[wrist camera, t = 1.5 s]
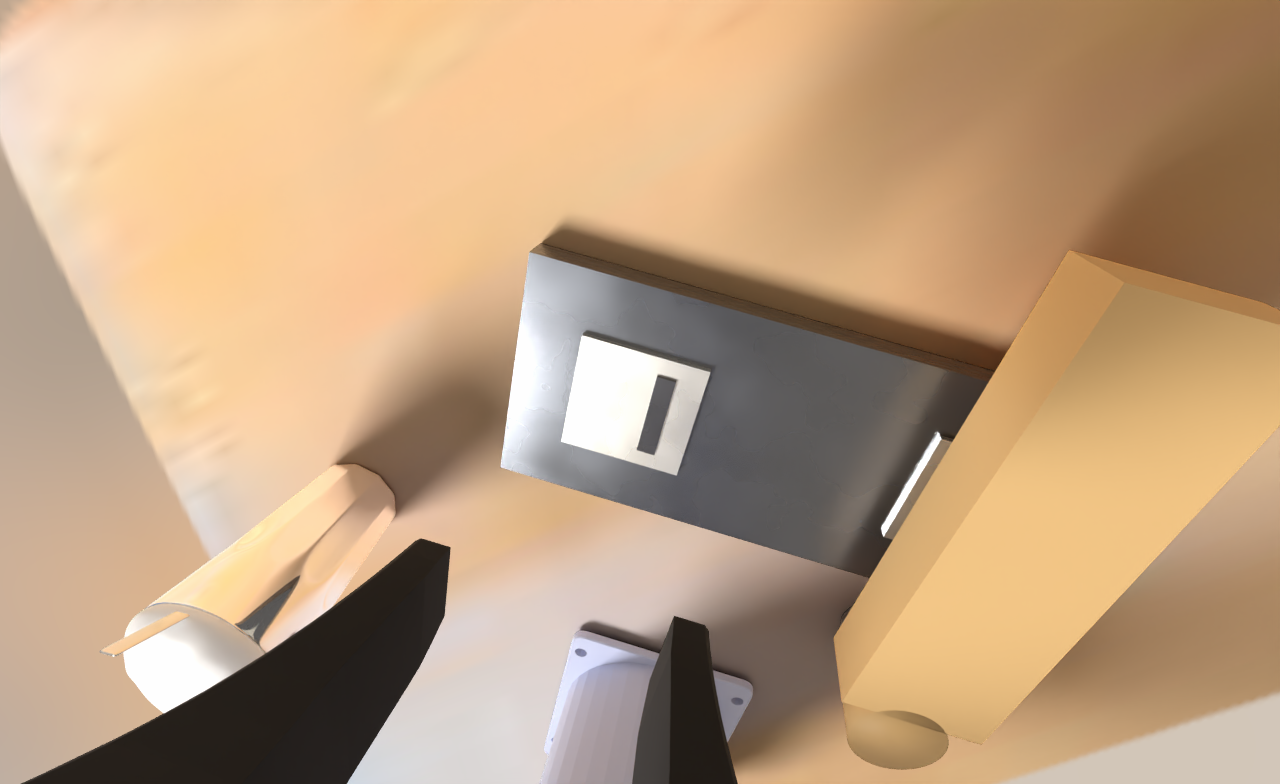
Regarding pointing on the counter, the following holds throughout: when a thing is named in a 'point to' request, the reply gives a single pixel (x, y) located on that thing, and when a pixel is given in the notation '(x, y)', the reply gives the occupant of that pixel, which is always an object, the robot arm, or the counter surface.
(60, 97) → the counter surface
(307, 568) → the milkshake
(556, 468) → the panel
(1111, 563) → the light wooden plank
